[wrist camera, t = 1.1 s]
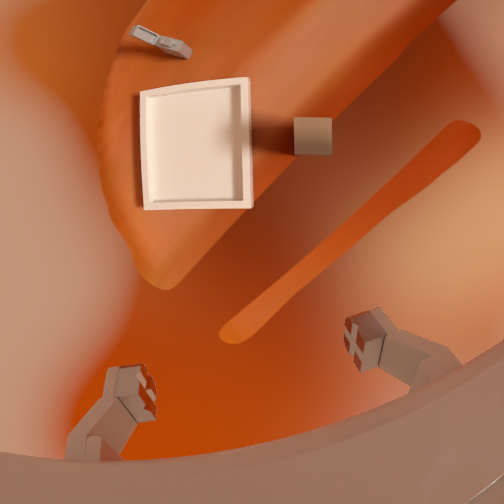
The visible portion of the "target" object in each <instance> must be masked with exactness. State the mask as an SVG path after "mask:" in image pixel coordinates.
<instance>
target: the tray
mask: <svg viewBox="0 0 504 504" xmlns="http://www.w3.org/2000/svg"><path fill="white" fill-rule="evenodd" d="M140 146H141V171H142V188H143V202H144V210H165V209H215V208H252V207H253V206H254V200H253V157H252V115H251V81H250V80H249V78H248V77H242V78H229V79H219V80H210V81H201V82H194V83H186V84H180V85H173V86H167V87H162V88H156V89H151V90H146V91H141V92H140Z"/></svg>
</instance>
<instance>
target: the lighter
mask: <svg viewBox="0 0 504 504" xmlns="http://www.w3.org/2000/svg"><path fill="white" fill-rule="evenodd" d="M129 36H132V37H134V38H136V39H138V40H140V41H143V42H145V43H147V44H150V45H154V44H155V46H157V47H158V48H160V49H161V50H163V51H164V52H165V53H167V54H170V55H173V56H177V57H180V58H183V59H187V60H188V59H189V58H190V56H191V54H192V52H193V50H192V49H191V48H190V47H189V46H187V45H186V44H185V43H184V42H183V41H181V40H177V39H173V38H169V37H165V36H159V35H158V34H157V33H155V32H153V31H151V30H149V29H147V28H144V27H142V26H140V25H134V26H133V27H132V29H131V31H130V33H129Z"/></svg>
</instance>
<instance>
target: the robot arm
mask: <svg viewBox="0 0 504 504" xmlns="http://www.w3.org/2000/svg"><path fill="white" fill-rule="evenodd" d="M345 327H346V328H347V329H346V331H345V332H344V343H345V347H346V349H347V351H348V353H349V354H351V355H353V356H354V363H355V365H356V366H357V368H358V370H359V372H363V371H366V370H369V369H372V368H375V367H378V366H379V368H380V369H382V370H384V371H386V372H387V373H389V374H390V375H392V376H394V377H396V378H397V379H399V380H401V381H402V382H404V383H406V384H408V385H409V386H411V388H410V390H409V393H408V394H406V395H404V396H402V397H399V398H397V399H395V400H393V401H390V402H388V403H386V404H383V405H381V406H378V407H376V408H374V409H371V410H369V411H366V412H363V413H361V414H358V415H355V416H353V417H350V418H347V419H344V420H342V421H339V422H336V423H333V424H330V425H327V426H324V427H321V428H317V429H314V430H311V431H307V432H304V433H301V434H297V435H293V436H290V437H286V438H282V439H278V440H274V441H270V442H266V443H262V444H257V445H252V446H248V447H243V448H238V449H232V450H227V451H221V452H215V453H208V454H202V455H195V456H186V457H177V458H166V459H154V460H136V461H125V460H124V459H123V458H122V457H120V456H119V454H120V452H121V451H122V449H123V447H124V446H125V444H126V442H127V440H128V439H129V437H130V435H131V434H132V432H133V430H134V429H135V427H136V425H137V422H146V421H153V420H156V405H155V404H154V401H155V399H156V398H157V396H156V395H157V392H156V386H155V383H154V380H153V379H152V377H151V376H149V375H148V374H147V368H146V366H145V365H144V364H135V365H126V366H119V367H110V368H109V369H108V370H107V374H106V380H105V385H104V391H103V397H102V399H99V400H98V401H97V402H96V403H95V404H94V406H93V407H92V408H91V409H90V410H89V411H88V413H87V414H86V415H85V416H84V417H83V418H82V420H81V421H80V422H79V423H78V424H77V426H76V427H75V428H74V429H73V430H72V431H71V433H70V434H69V435H68V439H67V440H68V441H67V445H66V452H65V458H64V460H63V459H51V458H42V457H34V456H26V455H19V454H14V453H8V452H0V504H504V339H503V340H502V341H500V342H499V343H498V344H496V345H495V346H493V347H491V348H490V349H488V350H487V351H485V352H484V353H482V354H480V355H479V356H477V357H476V358H474V359H473V360H471V361H469V362H467V363H466V364H464V365H462V364H461V363H460V361H459V360H458V359H457V358H456V357H455V355H454V354H452V352H451V351H450V349H449V348H448V347H446V346H443V345H441V344H438V343H436V342H433V341H430V340H428V339H425V338H422V337H420V336H417V335H415V334H412V333H410V332H407V331H404V330H398V329H397V327H396V326H395V325H394V324H393V322H392V321H391V320H390V319H389V318H388V316H387V315H386V314H385V313H384V312H383V310H382V309H381V308H379V307H377V308H374V309H371V310H368V311H365V312H362V313H359V314H356V315H352V316H349V317H346V319H345Z"/></svg>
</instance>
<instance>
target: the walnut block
mask: <svg viewBox="0 0 504 504" xmlns="http://www.w3.org/2000/svg"><path fill="white" fill-rule="evenodd" d="M294 154H295V155H296V156H329V155H332V118H312V117H294Z"/></svg>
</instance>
